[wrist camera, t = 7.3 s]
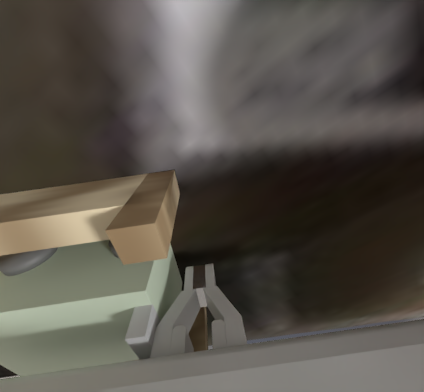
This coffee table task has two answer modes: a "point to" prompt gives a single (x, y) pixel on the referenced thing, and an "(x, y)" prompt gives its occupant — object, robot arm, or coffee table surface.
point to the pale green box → (80, 307)
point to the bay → (99, 222)
